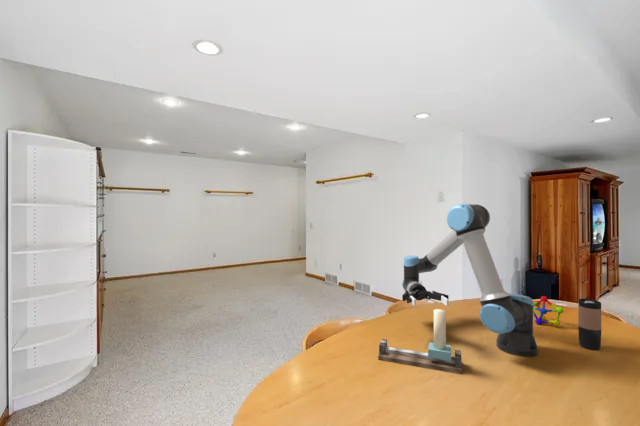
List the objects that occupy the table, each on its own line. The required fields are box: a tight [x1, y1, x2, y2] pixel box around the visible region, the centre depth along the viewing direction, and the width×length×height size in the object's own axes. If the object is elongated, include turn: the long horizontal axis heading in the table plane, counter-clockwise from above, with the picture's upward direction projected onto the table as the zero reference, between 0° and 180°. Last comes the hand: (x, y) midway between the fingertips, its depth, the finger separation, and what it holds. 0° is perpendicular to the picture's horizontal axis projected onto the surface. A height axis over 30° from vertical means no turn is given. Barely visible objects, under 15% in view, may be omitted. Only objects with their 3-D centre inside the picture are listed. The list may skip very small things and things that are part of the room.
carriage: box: [427, 308, 452, 361], centre depth 120 cm, size 8×7×17 cm
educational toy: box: [533, 295, 564, 327], centre depth 164 cm, size 16×13×15 cm
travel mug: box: [577, 298, 602, 352], centre depth 136 cm, size 8×8×20 cm
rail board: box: [377, 338, 463, 375], centre depth 123 cm, size 30×10×5 cm, turn 69°
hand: (431, 302), depth 132 cm, fingers open, 13 cm apart
